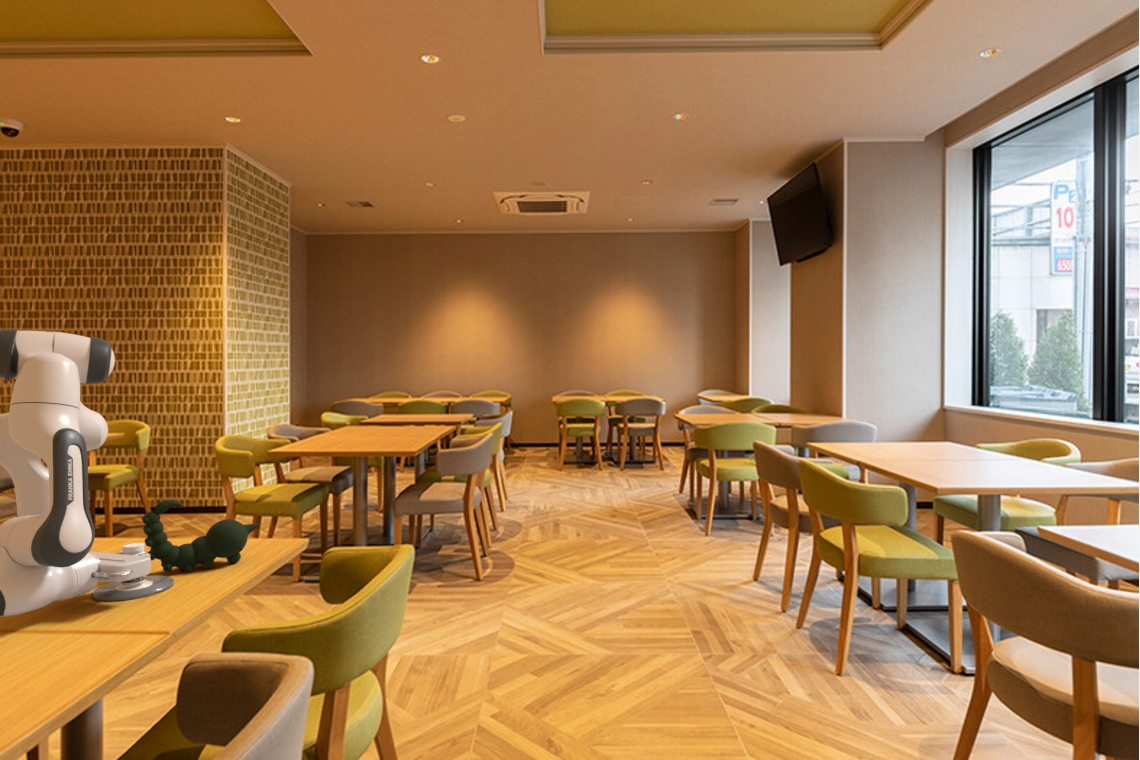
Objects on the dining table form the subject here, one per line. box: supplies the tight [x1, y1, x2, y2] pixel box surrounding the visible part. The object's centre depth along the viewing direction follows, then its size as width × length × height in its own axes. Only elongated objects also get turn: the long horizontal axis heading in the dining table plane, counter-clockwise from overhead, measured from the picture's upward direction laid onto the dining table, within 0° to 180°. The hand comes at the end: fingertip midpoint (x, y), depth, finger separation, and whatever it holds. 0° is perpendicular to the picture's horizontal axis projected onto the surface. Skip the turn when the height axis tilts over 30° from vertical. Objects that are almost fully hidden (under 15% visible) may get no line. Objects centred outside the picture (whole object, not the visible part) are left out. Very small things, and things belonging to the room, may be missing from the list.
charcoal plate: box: [92, 575, 174, 602], centre depth 149 cm, size 15×15×1 cm
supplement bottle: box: [121, 542, 147, 585], centre depth 148 cm, size 5×5×8 cm
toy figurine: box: [141, 499, 260, 574], centre depth 165 cm, size 9×19×25 cm
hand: (137, 555), depth 149 cm, fingers closed on supplement bottle, 5 cm apart
